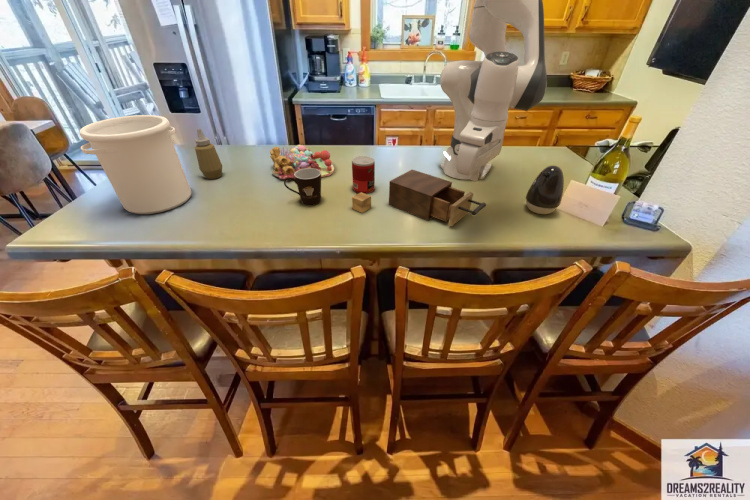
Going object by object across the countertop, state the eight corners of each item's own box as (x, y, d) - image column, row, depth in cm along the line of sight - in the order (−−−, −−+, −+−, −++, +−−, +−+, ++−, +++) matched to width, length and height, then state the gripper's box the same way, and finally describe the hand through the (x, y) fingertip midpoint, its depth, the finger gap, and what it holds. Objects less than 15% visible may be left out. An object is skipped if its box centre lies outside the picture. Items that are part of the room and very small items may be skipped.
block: (361, 203, 107) (361, 192, 105) (371, 208, 105) (371, 196, 103) (352, 208, 105) (351, 196, 102) (362, 213, 102) (362, 201, 100)
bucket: (137, 227, 95) (93, 143, 80) (102, 207, 105) (57, 128, 90) (213, 194, 112) (188, 120, 97) (177, 179, 122) (149, 110, 107)
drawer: (485, 217, 99) (490, 198, 95) (468, 233, 92) (473, 212, 88) (430, 197, 109) (433, 179, 105) (411, 210, 102) (413, 191, 98)
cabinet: (448, 205, 107) (452, 182, 102) (428, 220, 99) (431, 195, 94) (410, 191, 115) (412, 169, 110) (388, 204, 107) (389, 181, 102)
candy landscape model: (281, 187, 117) (276, 163, 112) (264, 165, 133) (259, 143, 128) (342, 173, 127) (341, 150, 122) (319, 155, 144) (317, 134, 138)
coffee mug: (328, 197, 111) (325, 170, 105) (316, 208, 105) (313, 180, 99) (298, 192, 114) (294, 165, 108) (285, 203, 108) (280, 175, 102)
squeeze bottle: (197, 178, 123) (181, 130, 112) (213, 170, 129) (199, 124, 118) (214, 182, 120) (198, 133, 110) (229, 174, 126) (216, 127, 116)
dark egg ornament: (515, 208, 105) (529, 164, 96) (533, 200, 110) (548, 157, 101) (544, 221, 99) (561, 176, 90) (562, 212, 104) (580, 167, 95)
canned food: (372, 194, 113) (372, 165, 106) (350, 192, 114) (349, 163, 107) (376, 185, 119) (376, 156, 112) (355, 183, 120) (354, 155, 113)
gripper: (491, 117, 88) (481, 164, 97) (456, 135, 76) (447, 188, 84) (514, 121, 85) (501, 170, 93) (480, 141, 73) (469, 195, 81)
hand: (475, 179), depth 89 cm, fingers closed
